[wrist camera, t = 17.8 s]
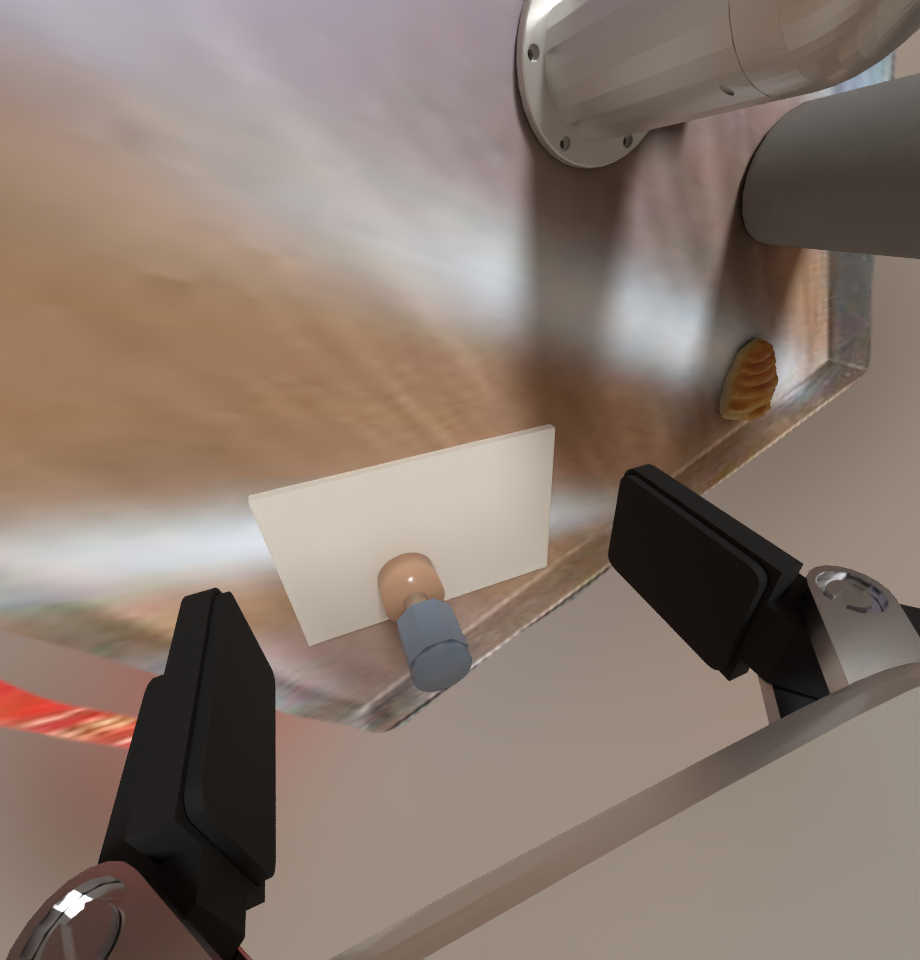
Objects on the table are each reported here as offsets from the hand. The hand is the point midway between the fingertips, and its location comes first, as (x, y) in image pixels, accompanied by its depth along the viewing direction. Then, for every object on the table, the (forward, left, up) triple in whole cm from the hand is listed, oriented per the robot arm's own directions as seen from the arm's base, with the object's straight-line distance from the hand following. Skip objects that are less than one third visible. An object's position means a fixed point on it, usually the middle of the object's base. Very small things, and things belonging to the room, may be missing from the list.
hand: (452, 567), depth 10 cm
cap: (-2, +28, -21) cm, 35 cm away
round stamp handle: (-2, +27, -27) cm, 38 cm away
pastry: (-47, +14, -29) cm, 56 cm away
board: (-5, +23, -28) cm, 37 cm away
